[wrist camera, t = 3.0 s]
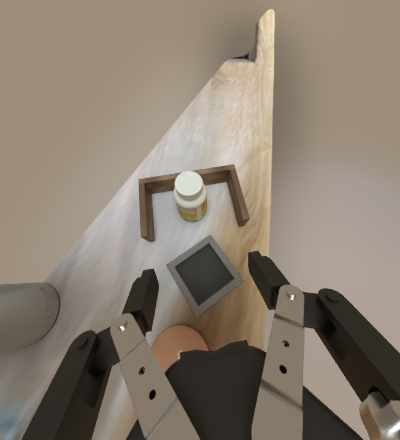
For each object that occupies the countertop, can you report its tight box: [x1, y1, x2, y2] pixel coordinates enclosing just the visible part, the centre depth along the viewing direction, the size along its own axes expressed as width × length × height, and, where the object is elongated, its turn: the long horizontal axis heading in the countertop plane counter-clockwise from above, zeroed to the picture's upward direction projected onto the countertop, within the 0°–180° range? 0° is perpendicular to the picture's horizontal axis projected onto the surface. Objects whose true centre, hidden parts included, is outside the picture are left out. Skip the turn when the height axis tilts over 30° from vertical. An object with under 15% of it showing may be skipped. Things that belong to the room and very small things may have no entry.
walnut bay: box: [139, 164, 250, 242], centre depth 29 cm, size 18×11×4 cm, turn 100°
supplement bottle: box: [173, 171, 207, 222], centre depth 26 cm, size 5×5×10 cm
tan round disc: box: [151, 325, 209, 373], centre depth 23 cm, size 9×9×1 cm
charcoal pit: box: [166, 235, 244, 317], centre depth 26 cm, size 9×9×2 cm
